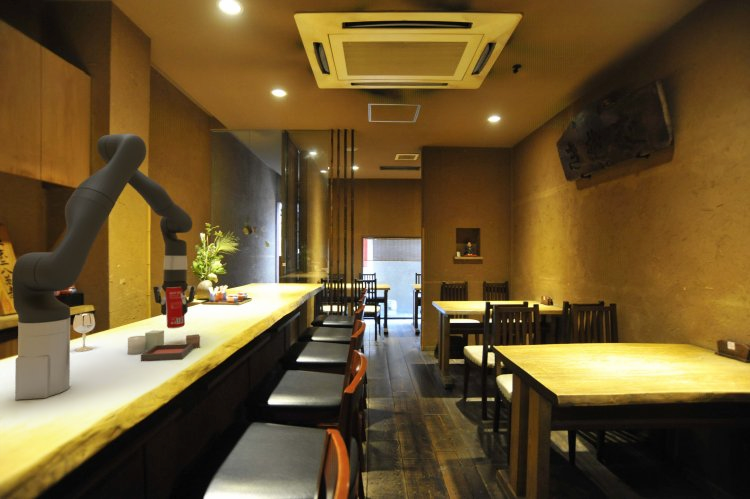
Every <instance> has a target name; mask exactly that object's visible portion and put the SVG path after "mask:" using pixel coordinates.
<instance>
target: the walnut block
mask: <svg viewBox="0 0 750 499" xmlns="http://www.w3.org/2000/svg"><path fill="white" fill-rule="evenodd" d="M185 344H193V349H199V348H201V336H200V334H190V335H189V334H188V335H186V336H185Z"/></svg>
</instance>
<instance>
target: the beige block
mask: <svg viewBox="0 0 750 499" xmlns="http://www.w3.org/2000/svg"><path fill="white" fill-rule="evenodd" d="M144 352H146V336H145V335H134V336H129V337H127V355H130V356H131V355H141V354H143V353H144Z"/></svg>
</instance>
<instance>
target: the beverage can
mask: <svg viewBox="0 0 750 499" xmlns="http://www.w3.org/2000/svg"><path fill="white" fill-rule="evenodd" d="M181 293H182V294H183V296H184V293H183V292H182V288H181V287H171V288H168V287H167V288H166V315H165V316H166V328H168V329H180V328H183V327H184V326H185V325H186V322H185V321H186V320H185V317H186V316H185V315H182V305H183V303H182V299H181Z"/></svg>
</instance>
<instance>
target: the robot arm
mask: <svg viewBox="0 0 750 499" xmlns="http://www.w3.org/2000/svg"><path fill="white" fill-rule="evenodd" d="M96 148H97V149H96V150H97V152H98V154H99V156H100V158H101V159H102V160H103V161H104V163H106V165H104V166H103V167H102V168H100V169H99V170H97V171H96V172H95V173H93V174H91V175H90V176H89V177H87V178H86V179H84V180H83V181H82V182H81V183H80V184H79V185H78V186H77V187H76V188H75V190H74V191H73V192H72V194H71V196H70V197H69V199H68V200H67V202H66V204H65V208H64V217H65V222H66V232H65V233H64V234H65V235H64V237H63V238H62V240H61V241H60V243H59V245H58V246H57V247H56V248H55V250H54V251H52V252H48V251H47V252H46V251H45V252H40V251H39V252H28V253H26V254H25V253H24V254H23V255H21V256H19V258H18V259H17V260H16V261H15V263H14V265H13V268H12V273H11V281H12V282H11V285H12V301H13V309H14V311H15V312H16V315H17V318H18V326H17V327H18V328H17V331H18V333H17V334H18V336H17V344H18V345H17V357H16V358H15V371H14V372H15V381H14V382H15V383H14V384H15V387H14V388H15V389H14V390H15V391H14V392H15V393H14V394H15V395H14V398H15V399H14V400H15V401H17V400H31V399H44V398H45V399H47V398H48V397H50V396H54V395H58V394H60V393H63V392H65V391H67V390H68V389H70V387H71V386H70V382H71V381H70V379H71V378H70V376H71V370H70V369H71V368H70V367H71V360H70V359H71V357H70V356H71V308H70V306H69V305H67V304H66V303H64V302H62V301H60V300H59V299H58V298H57V297H56V295H55V292H63V291H66V290H68V289H70V288H71V287H72V286H73V285H75V283H76V282H77V281H78V279H79V277H80V276H81V274H82V271H83V269H84V267H85V265H86V261H87V259H88V257H89V254H90V251H91V249H92V247H93V245H94V242H95V241H96V238H97V237H98V236H99V233H100V231H101V230H102V228H103V225H104V224H105V223H106V220H108V218H109V216H110V214H111V213H112V211H113V209H114V207H115V206H116V203H117V201H118V199H119V198H120V196H121V194H122V193H123V192H124V190H125V187H126V186H127V184H128V185H130V186H131V188H132V189H134V190H135V191H136V193H138V194H139V195H140V196H141V197H142V198H143V200H144V201H145V202H146V204H147V205H148V206H149V207H150V208H151V210H152V211H153V212H154V213H155V214H156V215H157V216H159V217H161V219H160V222H159V228H160V232H161V235H162V239H163V242H164V260H163V283H162V285H155V286H154V287H152V288H153V294H154V301H155V303H156V304H160V305H161V306H160V312H161V314H162V316H166V288H167V287H168V288H171V287H181V288H182V292H183V293H184V296H183V294H182V293H181V299H182V303H183V305H182V315H184V316H185V315H186V314H187V313H188V310H189V309H188V308H189V307H188V306H189V304H190V303H192V302H194V300H195V295H196V290H197V286H196V285H189V284H188V283H187V282H188V258H187V256H188V255H187V252H188V249H187V248H188V247H187V246H188V244H187V241H186V240H183V239H179V238H178V235H177V234H185V233H188V232H190V231H191V230H193V224H194V223H193V220H192V217H191V216H190V214H189V213H187V212H186V211H185V210H184V209H183V208H181V206H180V205H178V204H177V203H175V201H174V200H173V199H172V197H171V196H170V195H169V194H168V192H167V190H165V188H164V187H163V186H161V185H160V184H159V183H158V182H156V181H155V180H153V179H152V178H150V177H149V176H147V175H146V174H145V173H143V172H142V171H141V170H139V168H140V167H141V165H142V164H143V162H144V161H145V159H146V156H147V145H146V143H145V141H144V140H143V138H142V137H140V136H139V135H137V134H133V133H117V134H116V133H115V134H107V135H106V134H105V135H103V136H101V137H100V138H99V139H98V140H97V143H96ZM162 290H163V291H164V294H163V297H162V296H161V293H162ZM187 290H188V292H189V294H188V297H187V295H186V293H185V292H186V291H187Z"/></svg>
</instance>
